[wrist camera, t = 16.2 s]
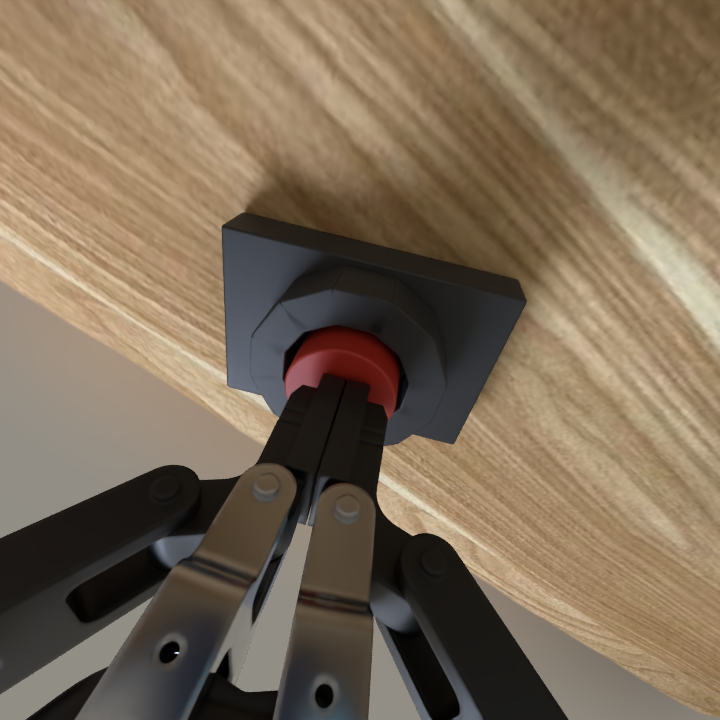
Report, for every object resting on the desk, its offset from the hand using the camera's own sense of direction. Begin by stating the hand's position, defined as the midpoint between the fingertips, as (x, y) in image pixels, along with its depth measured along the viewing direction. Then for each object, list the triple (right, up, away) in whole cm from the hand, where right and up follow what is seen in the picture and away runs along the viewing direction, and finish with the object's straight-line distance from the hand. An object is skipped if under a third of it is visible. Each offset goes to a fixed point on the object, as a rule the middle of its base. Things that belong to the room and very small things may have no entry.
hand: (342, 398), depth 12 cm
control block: (+1, +3, +3) cm, 4 cm away
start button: (0, +1, +1) cm, 2 cm away
